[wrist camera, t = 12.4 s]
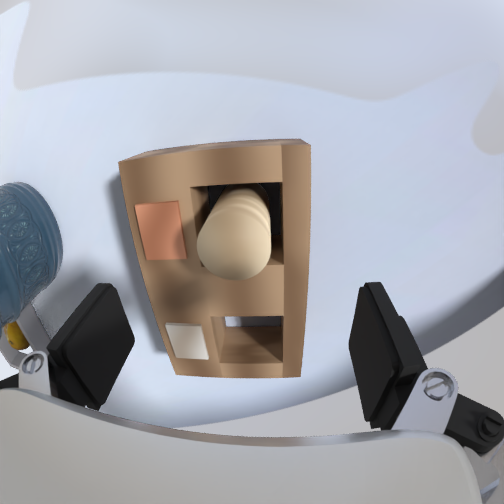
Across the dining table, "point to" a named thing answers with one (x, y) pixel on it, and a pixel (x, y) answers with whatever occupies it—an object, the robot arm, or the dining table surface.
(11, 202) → the canister
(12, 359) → the fruit corral
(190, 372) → the socket block
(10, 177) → the dining table surface
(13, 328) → the fruit
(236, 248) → the peg
